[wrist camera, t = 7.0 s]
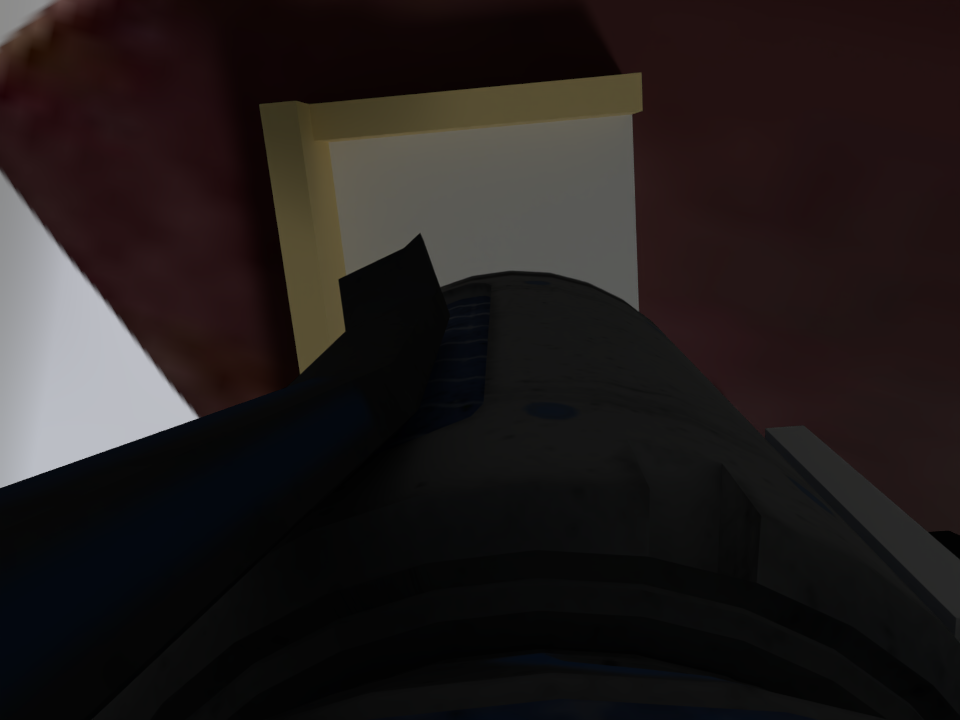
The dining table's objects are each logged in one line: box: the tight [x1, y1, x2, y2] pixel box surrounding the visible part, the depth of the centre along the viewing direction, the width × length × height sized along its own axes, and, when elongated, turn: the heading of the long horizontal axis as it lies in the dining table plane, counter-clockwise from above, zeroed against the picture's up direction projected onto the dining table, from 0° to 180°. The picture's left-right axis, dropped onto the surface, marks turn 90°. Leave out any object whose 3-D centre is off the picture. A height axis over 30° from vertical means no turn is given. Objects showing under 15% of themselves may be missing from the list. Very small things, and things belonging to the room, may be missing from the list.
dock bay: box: [259, 73, 643, 374], centre depth 35 cm, size 20×16×6 cm
